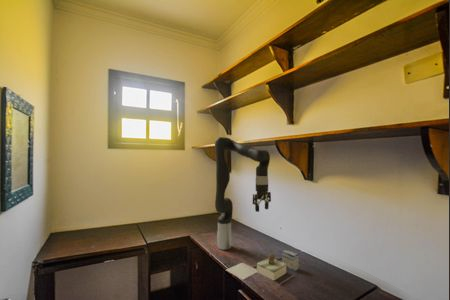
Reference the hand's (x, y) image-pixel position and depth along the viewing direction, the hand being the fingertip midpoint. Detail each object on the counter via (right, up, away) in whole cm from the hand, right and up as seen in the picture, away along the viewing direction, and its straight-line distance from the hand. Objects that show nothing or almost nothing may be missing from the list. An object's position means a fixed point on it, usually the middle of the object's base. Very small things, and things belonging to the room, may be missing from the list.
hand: (262, 210), depth 139 cm
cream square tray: (+3, -30, -15) cm, 34 cm away
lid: (+3, -25, -15) cm, 30 cm away
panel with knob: (-13, -30, -13) cm, 35 cm away
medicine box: (+14, -30, -9) cm, 35 cm away
